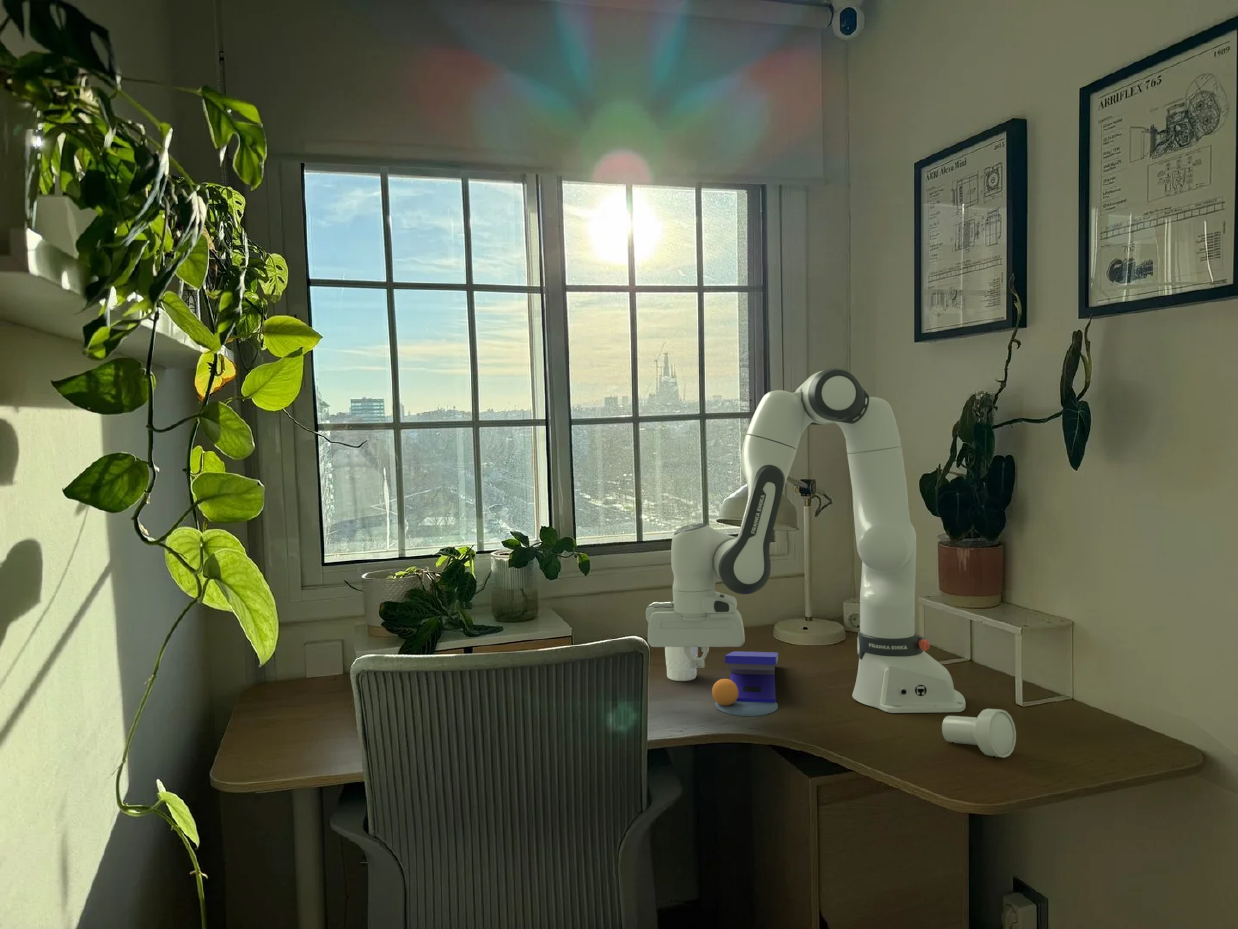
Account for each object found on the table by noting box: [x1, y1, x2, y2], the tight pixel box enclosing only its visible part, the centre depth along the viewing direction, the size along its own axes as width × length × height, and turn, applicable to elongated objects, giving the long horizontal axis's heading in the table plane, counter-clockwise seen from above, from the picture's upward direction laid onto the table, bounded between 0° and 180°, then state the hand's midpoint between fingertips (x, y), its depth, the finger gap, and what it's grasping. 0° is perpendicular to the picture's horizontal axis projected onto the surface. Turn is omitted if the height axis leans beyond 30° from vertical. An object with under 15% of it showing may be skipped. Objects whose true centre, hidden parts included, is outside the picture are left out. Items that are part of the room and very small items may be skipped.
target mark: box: [714, 701, 779, 717], centre depth 181 cm, size 13×13×1 cm
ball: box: [711, 678, 739, 706], centre depth 181 cm, size 6×6×6 cm
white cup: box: [664, 647, 699, 682], centre depth 202 cm, size 8×8×10 cm
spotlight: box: [941, 708, 1017, 759], centre depth 155 cm, size 8×11×8 cm
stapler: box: [724, 650, 779, 703], centre depth 196 cm, size 12×28×10 cm, turn 171°
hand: (697, 667), depth 182 cm, fingers closed
